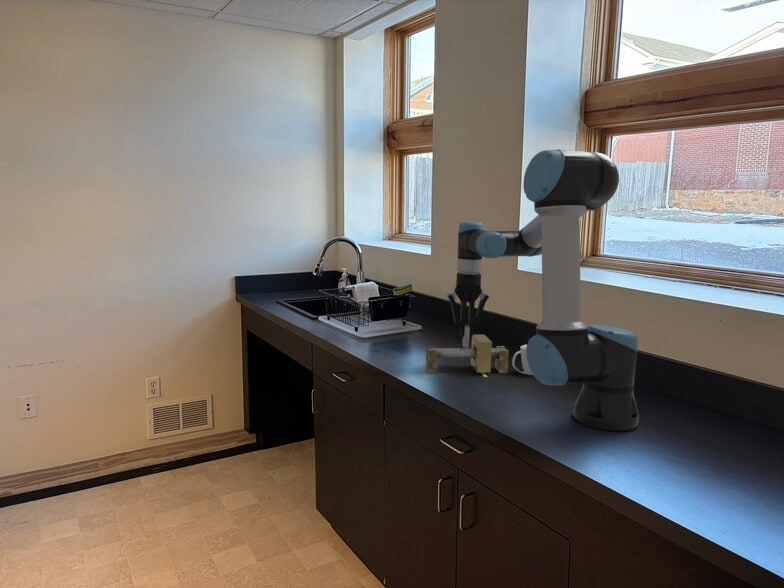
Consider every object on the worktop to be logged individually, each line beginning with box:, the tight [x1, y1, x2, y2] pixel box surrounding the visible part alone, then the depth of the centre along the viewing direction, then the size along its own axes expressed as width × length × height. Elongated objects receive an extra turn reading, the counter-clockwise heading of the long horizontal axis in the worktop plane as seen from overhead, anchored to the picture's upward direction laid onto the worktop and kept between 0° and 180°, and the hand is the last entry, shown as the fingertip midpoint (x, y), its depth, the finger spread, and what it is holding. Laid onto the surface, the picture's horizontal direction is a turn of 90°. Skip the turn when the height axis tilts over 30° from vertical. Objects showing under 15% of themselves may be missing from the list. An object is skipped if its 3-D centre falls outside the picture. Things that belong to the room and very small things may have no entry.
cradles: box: [425, 345, 509, 375], centre depth 185 cm, size 24×6×7 cm, turn 95°
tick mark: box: [480, 372, 488, 378], centre depth 186 cm, size 1×14×1 cm, turn 5°
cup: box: [511, 344, 534, 376], centre depth 184 cm, size 7×10×8 cm
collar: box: [470, 334, 493, 373], centre depth 185 cm, size 4×9×9 cm, turn 5°
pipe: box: [428, 347, 507, 359], centre depth 185 cm, size 24×3×3 cm, turn 95°
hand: (465, 346), depth 189 cm, fingers closed
